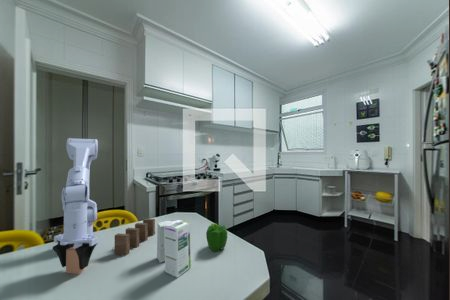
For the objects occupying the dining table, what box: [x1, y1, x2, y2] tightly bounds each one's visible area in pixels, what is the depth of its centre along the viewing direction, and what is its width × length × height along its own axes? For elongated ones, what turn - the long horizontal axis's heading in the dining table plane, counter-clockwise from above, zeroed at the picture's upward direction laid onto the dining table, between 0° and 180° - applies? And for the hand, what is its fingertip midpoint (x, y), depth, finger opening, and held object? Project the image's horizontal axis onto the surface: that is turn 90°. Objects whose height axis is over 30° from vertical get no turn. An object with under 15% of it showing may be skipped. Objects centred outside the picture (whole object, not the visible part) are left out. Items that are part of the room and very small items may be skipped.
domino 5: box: [142, 218, 156, 237], centre depth 82 cm, size 2×5×7 cm, turn 80°
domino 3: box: [125, 227, 140, 249], centre depth 71 cm, size 2×5×7 cm, turn 79°
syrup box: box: [164, 219, 192, 278], centre depth 56 cm, size 6×6×14 cm
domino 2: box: [114, 233, 131, 257], centre depth 66 cm, size 2×5×7 cm, turn 79°
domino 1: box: [65, 247, 85, 275], centre depth 56 cm, size 2×5×7 cm, turn 80°
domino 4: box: [134, 222, 149, 242], centre depth 77 cm, size 2×5×7 cm, turn 79°
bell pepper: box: [205, 222, 228, 252], centre depth 69 cm, size 8×8×10 cm
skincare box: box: [156, 219, 176, 263], centre depth 63 cm, size 6×4×12 cm
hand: (75, 266), depth 56 cm, fingers open, 6 cm apart
